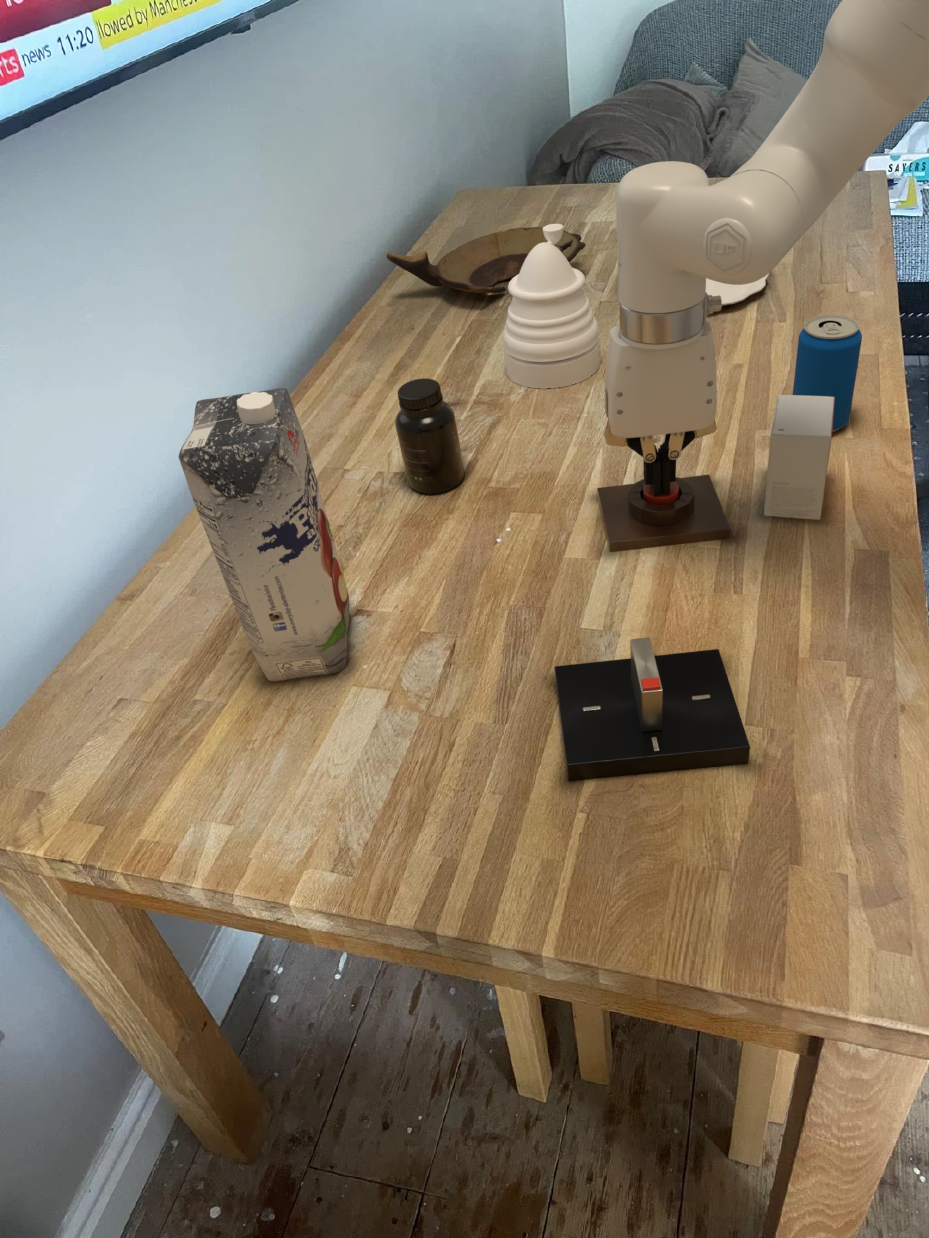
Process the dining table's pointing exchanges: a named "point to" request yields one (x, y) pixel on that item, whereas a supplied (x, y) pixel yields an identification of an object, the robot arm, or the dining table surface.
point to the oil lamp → (484, 259)
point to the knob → (646, 684)
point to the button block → (662, 516)
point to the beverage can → (829, 362)
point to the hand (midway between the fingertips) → (659, 487)
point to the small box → (799, 456)
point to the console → (610, 726)
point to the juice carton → (269, 531)
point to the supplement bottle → (428, 438)
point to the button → (661, 495)
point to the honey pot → (550, 321)
